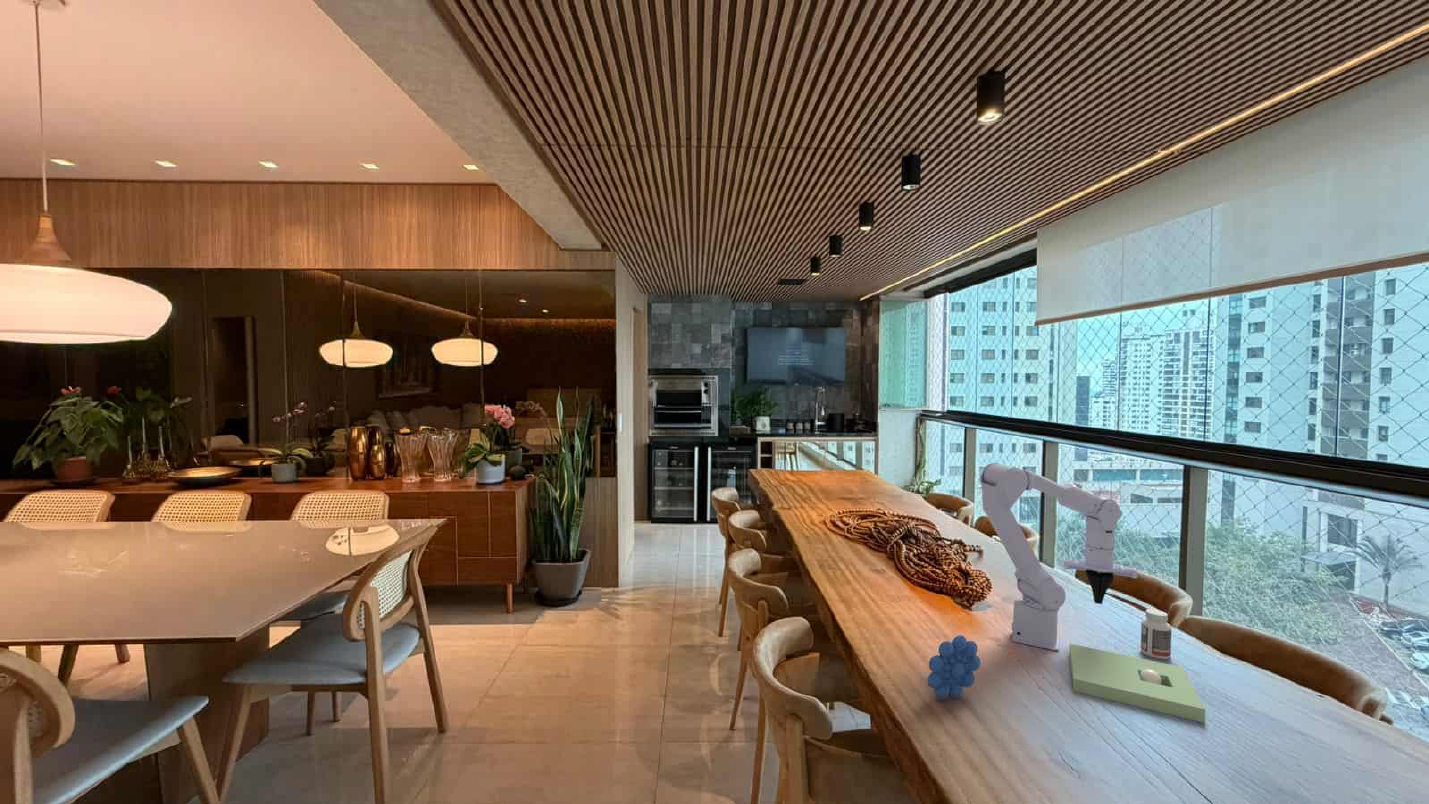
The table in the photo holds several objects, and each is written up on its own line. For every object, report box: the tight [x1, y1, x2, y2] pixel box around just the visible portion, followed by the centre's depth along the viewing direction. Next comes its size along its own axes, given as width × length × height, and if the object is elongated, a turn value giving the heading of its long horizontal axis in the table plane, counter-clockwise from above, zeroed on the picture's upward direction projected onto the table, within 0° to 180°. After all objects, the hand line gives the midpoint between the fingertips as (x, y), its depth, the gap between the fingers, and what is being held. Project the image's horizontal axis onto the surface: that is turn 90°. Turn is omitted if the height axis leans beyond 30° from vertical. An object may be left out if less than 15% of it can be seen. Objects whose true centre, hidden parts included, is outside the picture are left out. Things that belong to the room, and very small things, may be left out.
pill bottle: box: [1140, 608, 1172, 660], centre depth 126 cm, size 5×5×10 cm
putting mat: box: [1069, 643, 1206, 724], centre depth 112 cm, size 20×18×2 cm
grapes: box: [926, 635, 981, 699], centre depth 108 cm, size 12×7×12 cm, turn 105°
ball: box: [1140, 669, 1162, 685], centre depth 111 cm, size 4×4×4 cm
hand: (1097, 602), depth 132 cm, fingers closed
